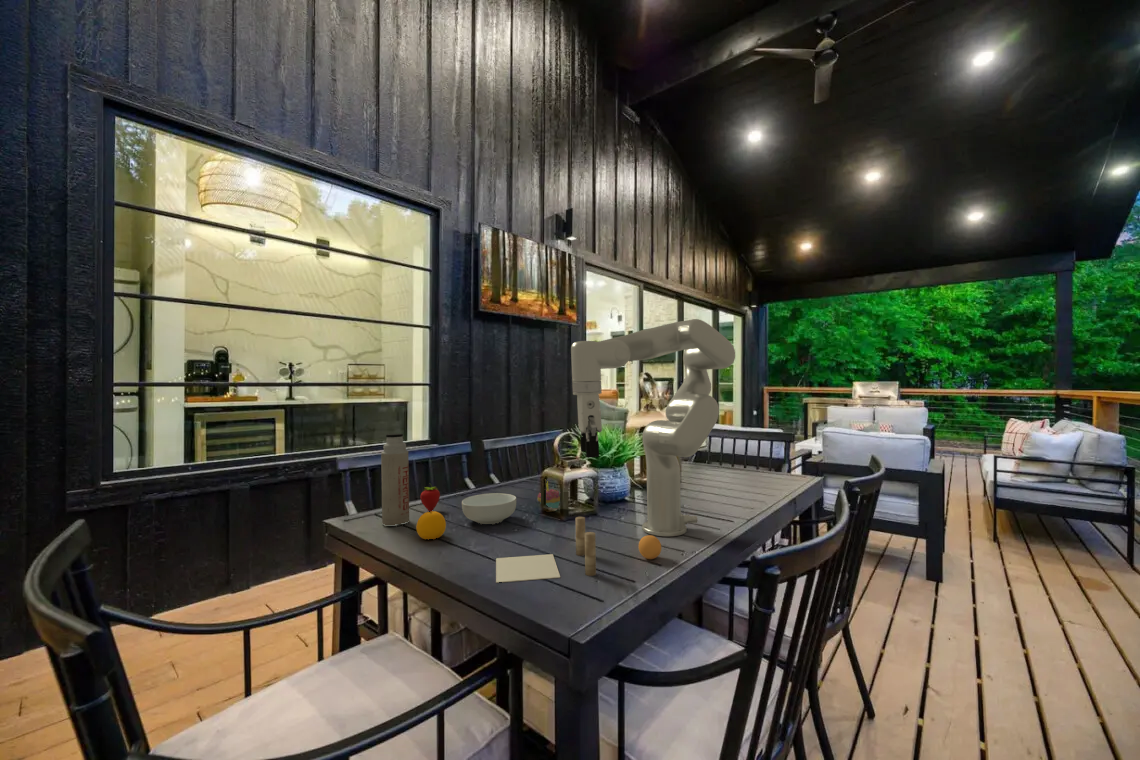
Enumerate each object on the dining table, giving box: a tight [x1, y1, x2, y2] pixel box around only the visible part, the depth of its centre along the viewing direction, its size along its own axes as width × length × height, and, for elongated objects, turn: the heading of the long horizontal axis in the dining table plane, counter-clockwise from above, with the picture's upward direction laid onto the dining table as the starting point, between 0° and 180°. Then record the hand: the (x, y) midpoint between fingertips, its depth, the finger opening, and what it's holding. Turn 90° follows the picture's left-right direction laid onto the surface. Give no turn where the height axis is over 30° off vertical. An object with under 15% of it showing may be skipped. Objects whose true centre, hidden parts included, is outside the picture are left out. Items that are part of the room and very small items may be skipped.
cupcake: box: [537, 481, 561, 509], centre depth 159 cm, size 9×8×12 cm
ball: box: [638, 534, 662, 560], centre depth 114 cm, size 6×6×6 cm
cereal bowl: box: [461, 492, 517, 525], centre depth 148 cm, size 17×17×7 cm
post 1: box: [575, 516, 586, 557], centre depth 118 cm, size 2×2×9 cm
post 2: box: [584, 531, 597, 577], centre depth 106 cm, size 2×2×9 cm
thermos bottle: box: [380, 432, 410, 525], centre depth 147 cm, size 8×8×28 cm
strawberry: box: [419, 484, 441, 512], centre depth 159 cm, size 6×8×10 cm
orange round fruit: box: [415, 510, 447, 541], centre depth 132 cm, size 8×8×8 cm
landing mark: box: [495, 553, 561, 584], centre depth 110 cm, size 14×14×1 cm
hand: (589, 454), depth 123 cm, fingers open, 9 cm apart
